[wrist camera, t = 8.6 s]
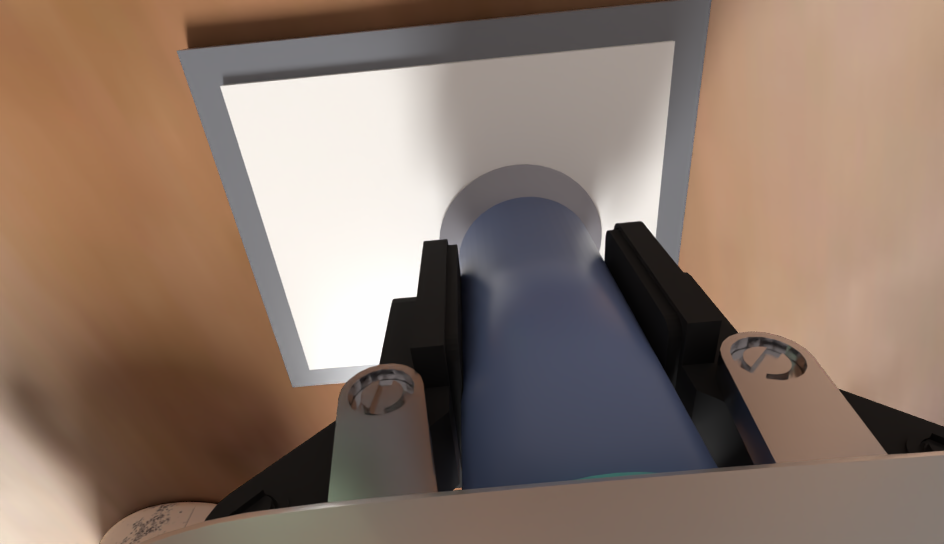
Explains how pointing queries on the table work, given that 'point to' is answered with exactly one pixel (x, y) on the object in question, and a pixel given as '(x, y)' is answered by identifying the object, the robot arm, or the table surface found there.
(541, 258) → the cylinder
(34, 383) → the table surface
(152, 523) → the teacup with lid
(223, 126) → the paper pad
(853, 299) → the table surface
